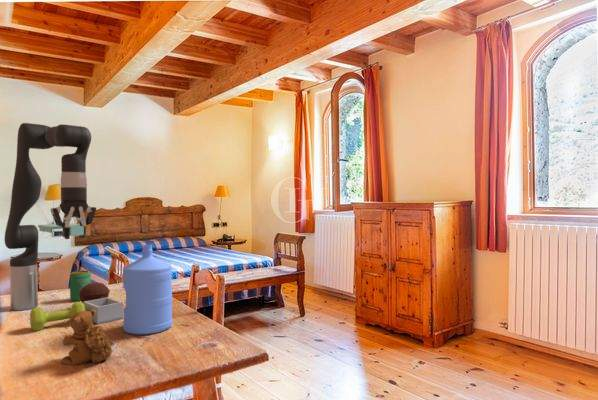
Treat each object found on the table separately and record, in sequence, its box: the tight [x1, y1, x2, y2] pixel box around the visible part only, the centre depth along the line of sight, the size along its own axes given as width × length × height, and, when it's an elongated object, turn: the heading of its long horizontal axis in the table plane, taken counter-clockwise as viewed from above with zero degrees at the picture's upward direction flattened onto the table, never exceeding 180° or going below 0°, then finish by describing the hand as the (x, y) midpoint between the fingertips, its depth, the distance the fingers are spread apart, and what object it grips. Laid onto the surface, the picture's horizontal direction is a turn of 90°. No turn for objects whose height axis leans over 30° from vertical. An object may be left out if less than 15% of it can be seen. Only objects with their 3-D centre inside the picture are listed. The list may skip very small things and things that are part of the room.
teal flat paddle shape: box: [37, 222, 84, 237], centre depth 142 cm, size 19×11×3 cm, turn 50°
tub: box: [84, 296, 124, 325], centre depth 152 cm, size 12×9×6 cm
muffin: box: [79, 281, 111, 304], centre depth 166 cm, size 12×11×10 cm
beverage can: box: [69, 270, 92, 303], centre depth 180 cm, size 8×8×12 cm
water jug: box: [122, 244, 173, 336], centre depth 141 cm, size 16×16×28 cm
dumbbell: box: [29, 302, 85, 332], centre depth 144 cm, size 16×8×7 cm, turn 126°
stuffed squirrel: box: [60, 310, 114, 366], centre depth 113 cm, size 10×14×13 cm
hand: (74, 238), depth 138 cm, fingers closed on teal flat paddle shape, 4 cm apart
